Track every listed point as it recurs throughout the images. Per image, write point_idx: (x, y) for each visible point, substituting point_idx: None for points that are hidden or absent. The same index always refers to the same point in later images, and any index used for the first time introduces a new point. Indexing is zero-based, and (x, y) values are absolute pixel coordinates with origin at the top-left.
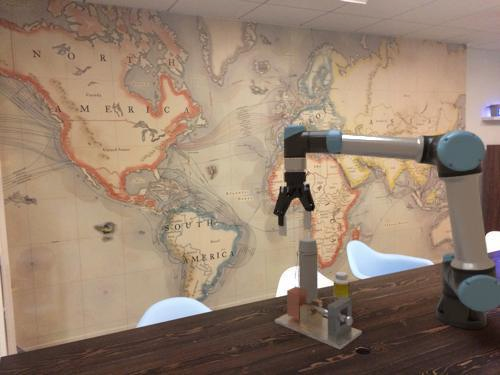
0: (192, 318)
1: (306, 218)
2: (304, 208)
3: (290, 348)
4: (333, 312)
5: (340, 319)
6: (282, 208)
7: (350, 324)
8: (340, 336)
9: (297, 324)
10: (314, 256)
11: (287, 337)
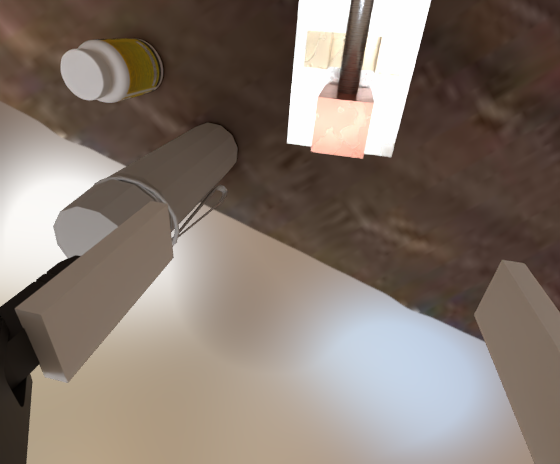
0: (470, 322)
1: (114, 290)
2: (29, 405)
3: (525, 22)
4: None
5: None
6: None
7: None
8: None
9: (386, 83)
10: (137, 173)
11: (460, 72)
